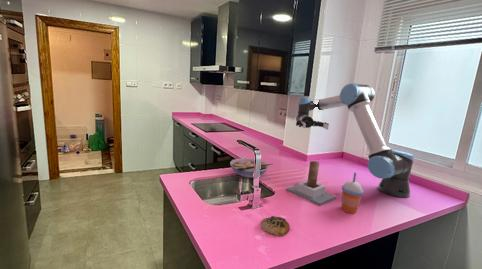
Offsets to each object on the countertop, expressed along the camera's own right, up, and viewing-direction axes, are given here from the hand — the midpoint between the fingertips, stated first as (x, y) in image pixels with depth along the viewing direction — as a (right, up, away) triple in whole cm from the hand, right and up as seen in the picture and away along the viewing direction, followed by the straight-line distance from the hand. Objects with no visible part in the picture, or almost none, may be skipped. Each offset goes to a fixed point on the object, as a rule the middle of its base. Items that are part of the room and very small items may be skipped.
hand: (316, 126), depth 148 cm
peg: (-9, -34, -20) cm, 40 cm away
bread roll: (-31, -41, -52) cm, 73 cm away
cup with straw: (+5, -39, -33) cm, 52 cm away
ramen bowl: (-40, -29, +1) cm, 50 cm away
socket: (-9, -35, -19) cm, 41 cm away
